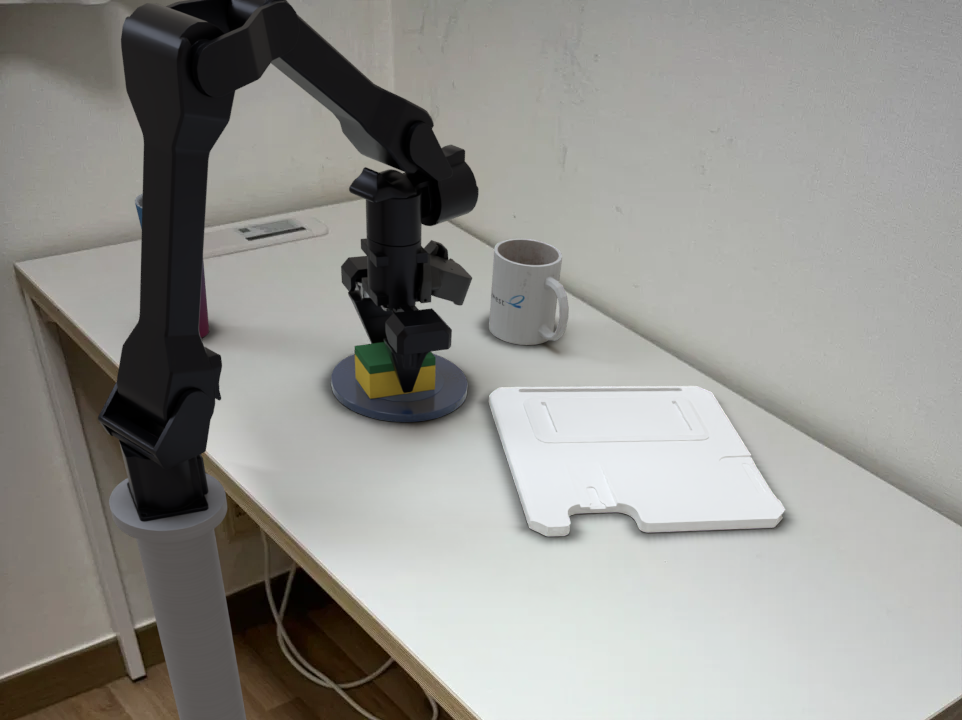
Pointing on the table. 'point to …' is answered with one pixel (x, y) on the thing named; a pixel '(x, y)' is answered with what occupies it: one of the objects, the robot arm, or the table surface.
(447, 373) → the plate
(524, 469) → the tray
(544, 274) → the mug
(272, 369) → the table surface
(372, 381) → the sponge
